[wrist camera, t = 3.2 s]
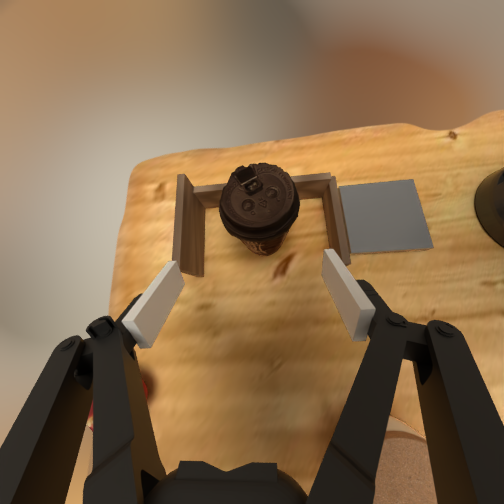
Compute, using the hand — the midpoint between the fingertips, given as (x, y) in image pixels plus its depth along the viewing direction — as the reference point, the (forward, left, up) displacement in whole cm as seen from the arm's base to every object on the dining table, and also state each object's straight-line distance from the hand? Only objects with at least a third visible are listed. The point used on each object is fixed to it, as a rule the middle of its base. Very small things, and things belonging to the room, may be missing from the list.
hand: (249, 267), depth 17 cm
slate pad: (-19, -9, -12) cm, 24 cm away
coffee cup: (-1, -7, -12) cm, 14 cm away
